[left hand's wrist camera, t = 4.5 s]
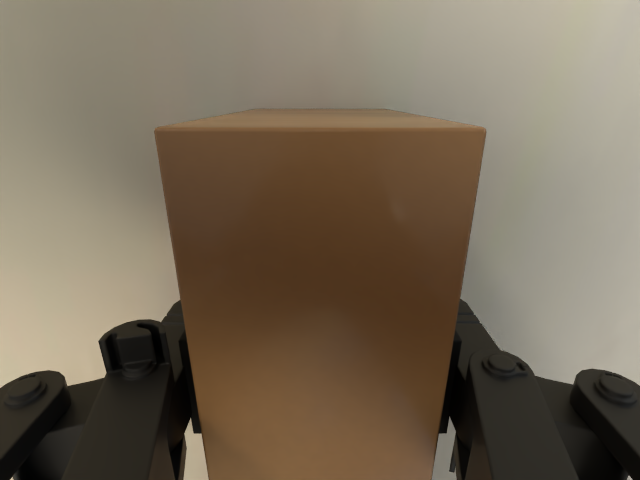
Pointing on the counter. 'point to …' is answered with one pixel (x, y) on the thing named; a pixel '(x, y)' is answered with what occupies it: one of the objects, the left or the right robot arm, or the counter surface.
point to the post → (320, 284)
